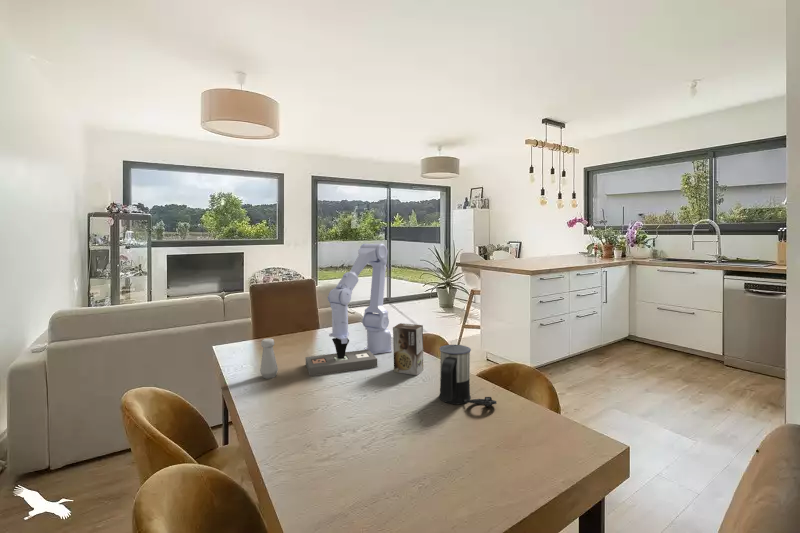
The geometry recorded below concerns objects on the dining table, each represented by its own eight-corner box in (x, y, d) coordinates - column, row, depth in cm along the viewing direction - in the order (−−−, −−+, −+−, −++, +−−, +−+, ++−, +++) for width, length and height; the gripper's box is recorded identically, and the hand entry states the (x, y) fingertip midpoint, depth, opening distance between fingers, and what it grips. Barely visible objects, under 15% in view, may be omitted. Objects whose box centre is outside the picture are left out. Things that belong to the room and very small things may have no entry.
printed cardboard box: (424, 369, 137) (423, 324, 135) (417, 375, 131) (416, 329, 129) (400, 366, 141) (400, 322, 139) (392, 372, 135) (392, 326, 133)
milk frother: (439, 390, 119) (439, 343, 117) (491, 392, 117) (492, 344, 116) (438, 412, 105) (438, 358, 103) (498, 414, 103) (499, 360, 101)
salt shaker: (281, 374, 134) (280, 337, 132) (271, 380, 128) (269, 342, 127) (267, 372, 136) (266, 336, 134) (256, 378, 130) (254, 340, 129)
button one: (366, 359, 147) (366, 352, 147) (369, 362, 143) (369, 356, 143) (355, 360, 146) (355, 354, 145) (358, 364, 141) (357, 357, 141)
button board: (368, 356, 151) (368, 349, 151) (377, 366, 140) (377, 358, 140) (305, 364, 143) (305, 357, 143) (310, 376, 132) (309, 367, 131)
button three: (324, 364, 142) (324, 357, 141) (326, 368, 137) (326, 361, 137) (312, 366, 140) (311, 359, 140) (313, 370, 136) (313, 363, 136)
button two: (345, 362, 144) (345, 355, 144) (348, 365, 140) (348, 358, 140) (334, 363, 143) (333, 356, 143) (336, 367, 139) (336, 360, 138)
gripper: (325, 318, 145) (326, 353, 147) (332, 326, 132) (333, 365, 133) (344, 316, 148) (344, 351, 149) (353, 324, 134) (353, 363, 136)
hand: (341, 357), depth 141 cm, fingers closed, pressing on button two
